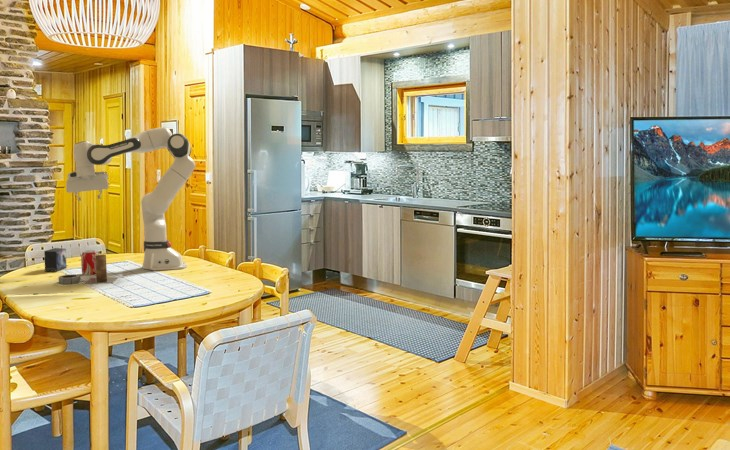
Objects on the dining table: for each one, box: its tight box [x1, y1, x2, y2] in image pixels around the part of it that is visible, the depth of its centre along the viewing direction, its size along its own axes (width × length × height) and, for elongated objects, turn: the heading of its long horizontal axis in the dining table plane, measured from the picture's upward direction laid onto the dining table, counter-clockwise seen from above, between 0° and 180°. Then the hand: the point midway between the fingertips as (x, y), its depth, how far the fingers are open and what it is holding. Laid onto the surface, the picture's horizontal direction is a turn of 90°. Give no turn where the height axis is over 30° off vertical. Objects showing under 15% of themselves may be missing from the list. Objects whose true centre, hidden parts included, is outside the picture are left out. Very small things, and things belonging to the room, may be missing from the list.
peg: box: [95, 254, 108, 282], centre depth 289 cm, size 4×4×12 cm
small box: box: [44, 247, 67, 272], centre depth 321 cm, size 11×6×10 cm, turn 179°
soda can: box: [80, 250, 98, 276], centre depth 307 cm, size 7×7×12 cm
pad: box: [84, 276, 118, 285], centre depth 292 cm, size 12×12×1 cm
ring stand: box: [54, 274, 85, 287], centre depth 287 cm, size 12×12×4 cm
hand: (89, 199), depth 326 cm, fingers open, 8 cm apart
